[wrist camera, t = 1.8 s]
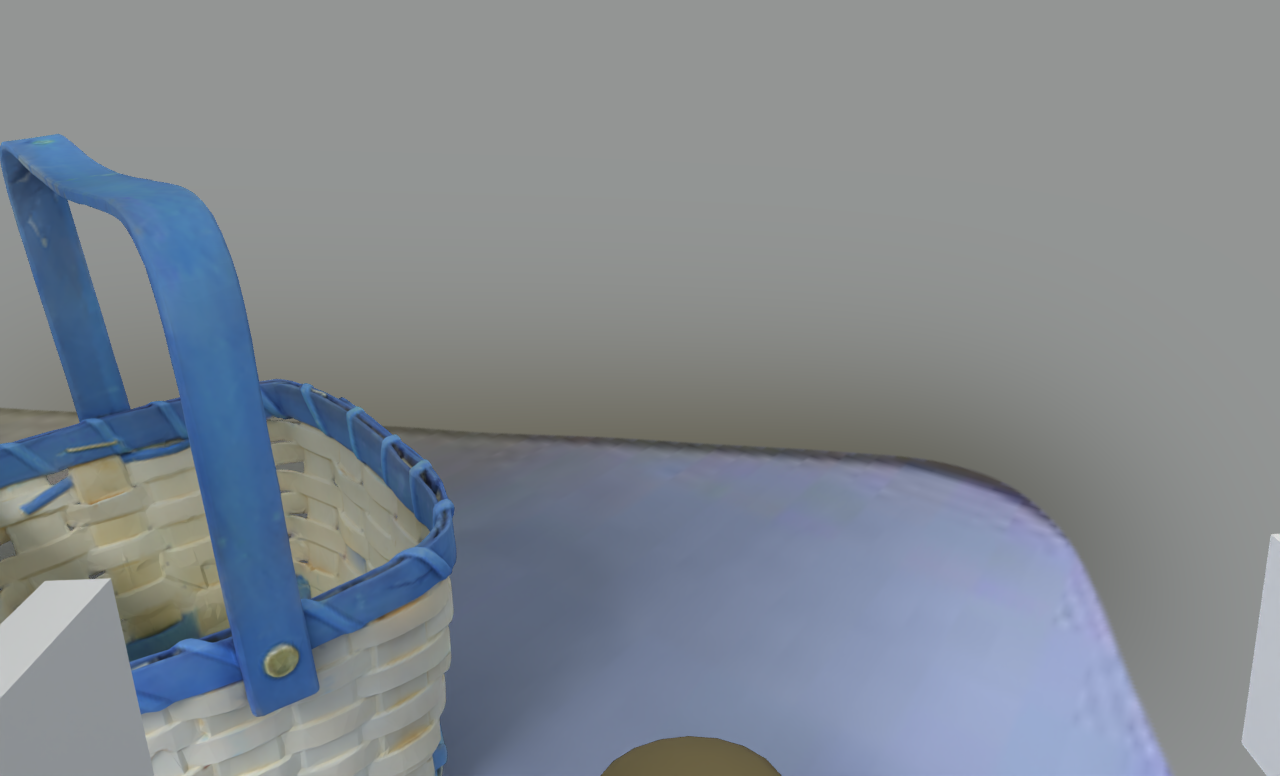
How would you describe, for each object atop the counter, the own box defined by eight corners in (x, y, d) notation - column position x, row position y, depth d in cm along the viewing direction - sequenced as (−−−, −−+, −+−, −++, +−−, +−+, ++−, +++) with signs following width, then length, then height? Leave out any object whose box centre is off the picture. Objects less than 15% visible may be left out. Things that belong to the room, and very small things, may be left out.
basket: (-47, 741, 47) (-214, 153, 39) (342, 611, 55) (268, 107, 48) (30, 1127, 31) (-231, 248, 23) (564, 859, 39) (507, 152, 31)
